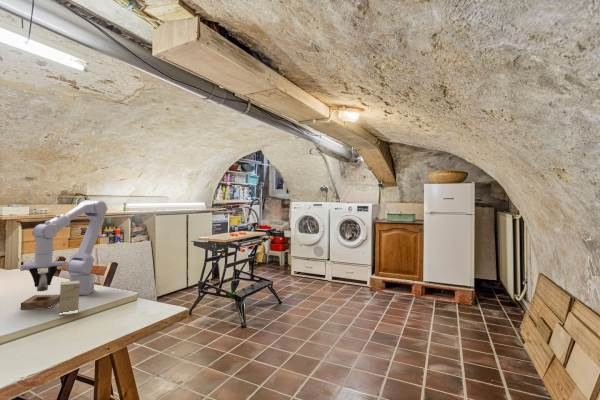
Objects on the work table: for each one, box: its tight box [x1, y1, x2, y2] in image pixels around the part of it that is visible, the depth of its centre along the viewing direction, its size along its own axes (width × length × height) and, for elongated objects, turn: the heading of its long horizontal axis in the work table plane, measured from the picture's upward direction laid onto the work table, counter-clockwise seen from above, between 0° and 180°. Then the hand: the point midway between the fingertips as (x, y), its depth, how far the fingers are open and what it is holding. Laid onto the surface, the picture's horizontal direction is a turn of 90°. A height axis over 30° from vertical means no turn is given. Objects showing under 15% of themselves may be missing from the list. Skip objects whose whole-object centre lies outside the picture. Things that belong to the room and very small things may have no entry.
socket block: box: [20, 294, 60, 310], centre depth 134 cm, size 10×10×2 cm
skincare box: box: [58, 280, 80, 314], centre depth 127 cm, size 6×4×12 cm
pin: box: [36, 271, 49, 292], centre depth 133 cm, size 4×4×7 cm
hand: (42, 285), depth 133 cm, fingers closed on pin, 4 cm apart
